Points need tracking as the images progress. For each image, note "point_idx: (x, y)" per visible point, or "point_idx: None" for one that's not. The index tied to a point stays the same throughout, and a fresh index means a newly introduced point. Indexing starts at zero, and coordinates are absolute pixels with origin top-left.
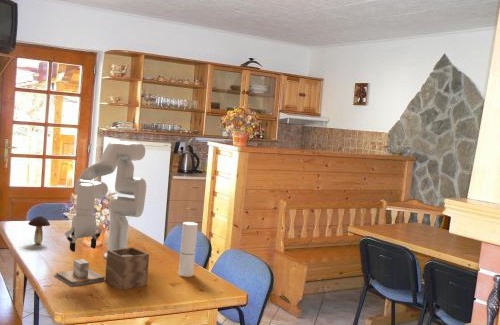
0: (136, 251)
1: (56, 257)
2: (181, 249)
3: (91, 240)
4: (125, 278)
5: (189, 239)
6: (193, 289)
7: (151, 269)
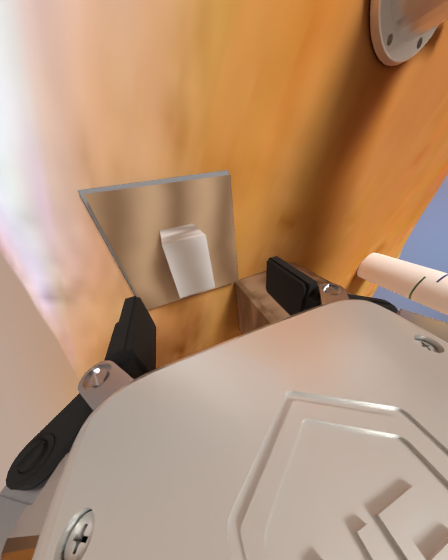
0: None
1: None
2: (425, 292)
3: (295, 287)
4: None
5: None
6: None
7: (358, 217)
